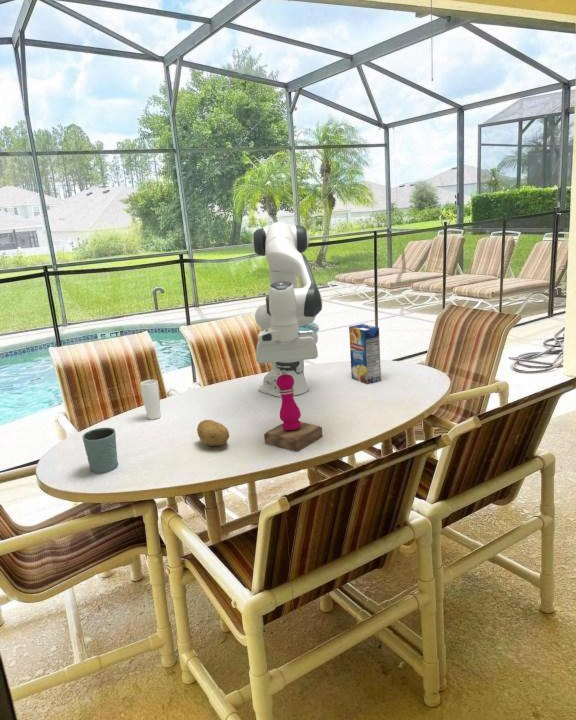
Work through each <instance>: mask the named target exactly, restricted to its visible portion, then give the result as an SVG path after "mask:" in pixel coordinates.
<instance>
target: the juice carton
mask: <svg viewBox="0 0 576 720" xmlns="http://www.w3.org/2000/svg"><path fill="white" fill-rule="evenodd" d="M348 330H349V331H348V333H349V334H348V335H349V351H350V355H349V357H350V370H351V372H350V373H351V379H352V380H354V381H356V382H359V381H360V383H363V384H365V385H370V383H371V384H374V383H378V382H382V376H381V375H382V372H381V350H380V349H381V345H380V344H381V343H380V327H377V326H373V325H368V324H365V323H361V324H355V325H350V326H348Z"/></svg>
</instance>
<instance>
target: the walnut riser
mask: <svg viewBox="0 0 576 720" xmlns="http://www.w3.org/2000/svg"><path fill="white" fill-rule="evenodd" d="M300 422H301V427H300V428H298V429H294V430H284V429H283V426H282V424H283V423H281V424H279V425H277V426H275V427H273V428H272V429H270V430H268V431H266V432H265V433H263V437H264V444H265V445H270V446H271V447H273V446H274V447H277V448H280V449H285V450H289V451H293V452H297V453H299V452H300V451H302V450H303V449H305V448H307V447H309V446H310V445H312V444H313V443H315V442H317V441H318V440H320V439H321V438H323V427H322V426H321V425H317V424H314V423H313V424H312V423H307V422H303V421H300Z"/></svg>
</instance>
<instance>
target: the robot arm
mask: <svg viewBox="0 0 576 720" xmlns="http://www.w3.org/2000/svg"><path fill="white" fill-rule="evenodd" d="M309 244H310V234H309V232H308V230H307V227H305V226H303V225H299V224H297V225H289V224H288V223H286V222H285V221H284V222H283V221H277V222H276V221H275V222H274V223H272V224H270V225H269V227H264V228H263V227H262V228H258V229H255V230H254V231H253V234H252V237H251V245H252V248H253V251H254V253H255V254H256V255H257V256H261V257H265V259H266V261H267V263H268V271H269V272H268V273H269V287H268V288H269V289H268V290H269V291H268V295H266V297H265V304H262V305H260V306H258V307H257V308H256V311H255V314H254V320H255V322H256V325H257V326H258V328H259V329H261V330H260V331H259V333H258V335H257V339H258V341H257V344H256V349H255V361H256V362H257V363H258V364H269V363H270V364H271V366H272V369H271V370H270V371H269V372H267V373H266V374H265V375H264V377H263V381H262V385H261V386H259V387H258V392H262V393H264V394H268V395H271V396H274V397H277V398H282V397H281V394H280V391H279V390H280V388H279V387H278V386H277V383H276V382H277V378H278V377H279V376H281V375H282V374H281V372H282V370H286V372H287V373H286V374H288V375H291V376H292V377H293V379H294V385H293V388H294V392H293V396H299V395H302V394H305V393H307V392H308V390H309V387H308V384H307V380H306V375H305V371H304V369H305V364H304V363H305V362H304V361H307V360H316V359H317V358H318V357H319V352H318V348H317V343H318V339H319V338H318V333H317V332H315V331H313V330H300V331H299V327H304V326H306V325H309V324H312V323H314V321H315V319H316V317H317V315H318V314H319V313H321V311H323V309H322V308H323V298H322V295H321V292H320V289H319V287H318V285H317V283H316V280H315V278H314V274H313V271H312V268H311V265H310V264H309V261H308V260H309V259H307V257H306V255H305V254H303V253H304V252H306V251H307V250H308V247H309ZM298 277H299V278H300V279H301V282H302V286H303V287H299V283H298Z"/></svg>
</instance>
